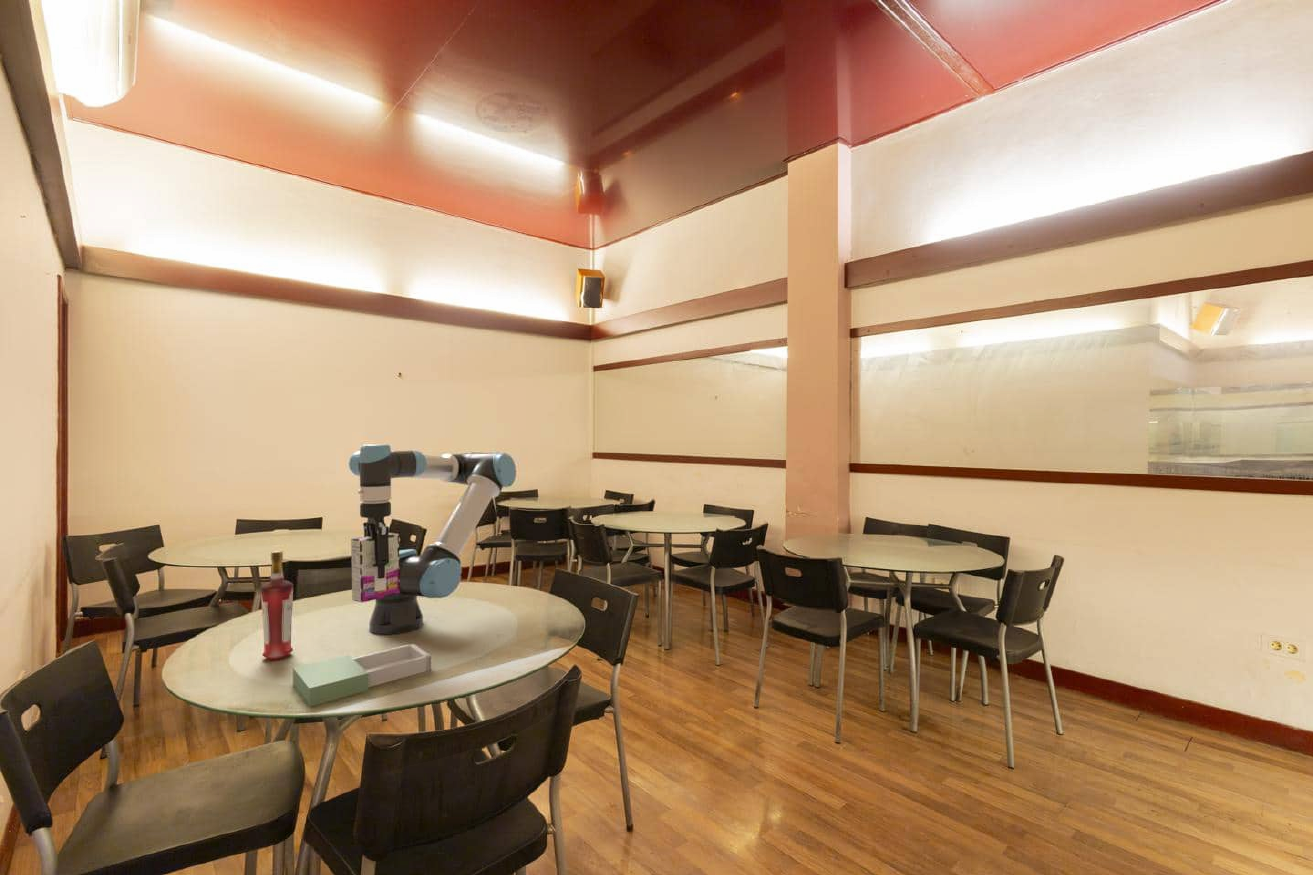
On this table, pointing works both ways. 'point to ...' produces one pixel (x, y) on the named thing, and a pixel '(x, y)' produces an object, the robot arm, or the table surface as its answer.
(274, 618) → the liquor
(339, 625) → the table surface
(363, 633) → the table surface
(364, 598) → the candy bar box
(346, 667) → the sliding drawer box
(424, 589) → the robot arm
